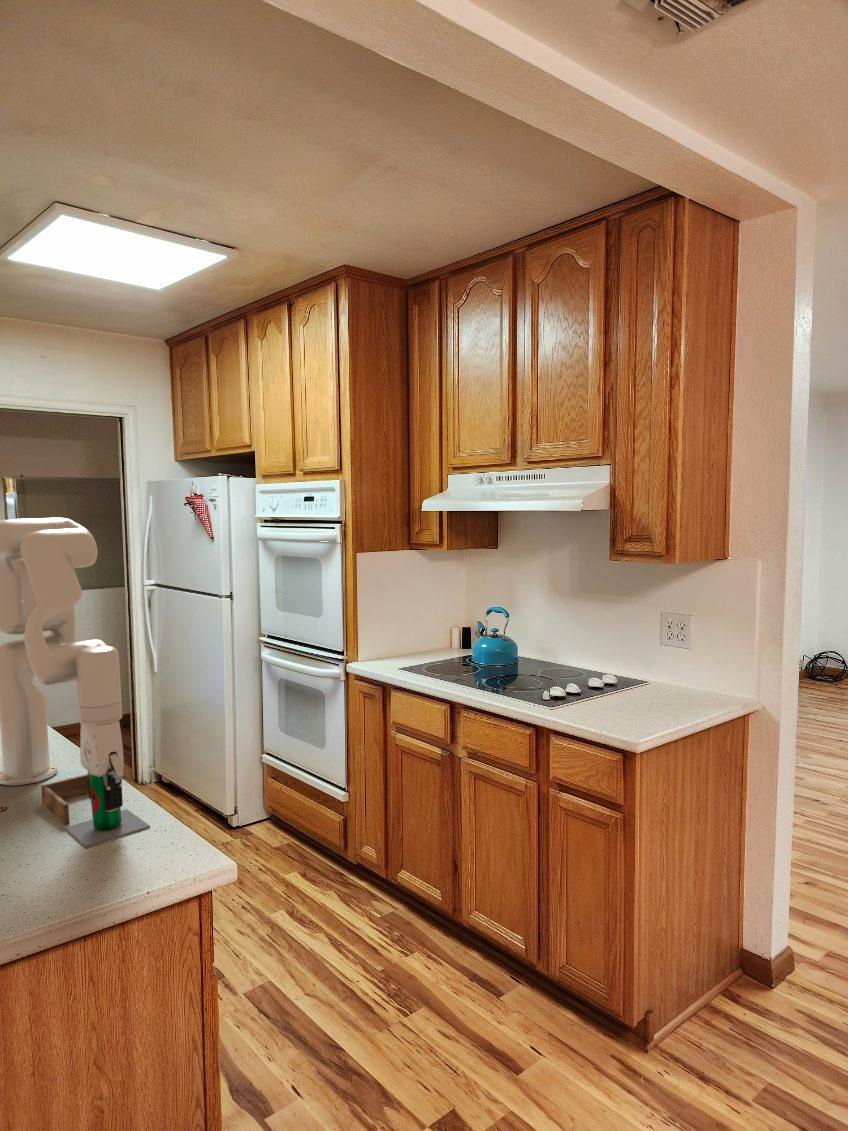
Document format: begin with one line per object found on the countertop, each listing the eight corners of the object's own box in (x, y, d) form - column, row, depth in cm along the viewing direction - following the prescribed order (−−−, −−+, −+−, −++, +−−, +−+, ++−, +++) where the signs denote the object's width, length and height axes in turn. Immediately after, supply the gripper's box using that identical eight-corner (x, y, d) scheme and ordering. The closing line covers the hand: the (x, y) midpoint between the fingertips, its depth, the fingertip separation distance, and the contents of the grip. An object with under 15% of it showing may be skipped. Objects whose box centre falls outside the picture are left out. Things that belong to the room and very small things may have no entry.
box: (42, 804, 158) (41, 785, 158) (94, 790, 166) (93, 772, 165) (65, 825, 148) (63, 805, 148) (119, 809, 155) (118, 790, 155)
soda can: (112, 832, 144) (107, 771, 142) (87, 831, 144) (82, 770, 143) (127, 820, 148) (122, 761, 147) (103, 819, 149) (98, 760, 148)
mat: (64, 829, 146) (64, 827, 146) (127, 810, 155) (126, 808, 154) (85, 848, 138) (85, 846, 138) (149, 827, 147) (149, 825, 146)
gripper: (64, 706, 148) (69, 795, 150) (97, 725, 135) (103, 822, 137) (103, 699, 153) (108, 784, 155) (139, 716, 140) (143, 809, 142)
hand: (105, 801), depth 146 cm, fingers open, 7 cm apart
